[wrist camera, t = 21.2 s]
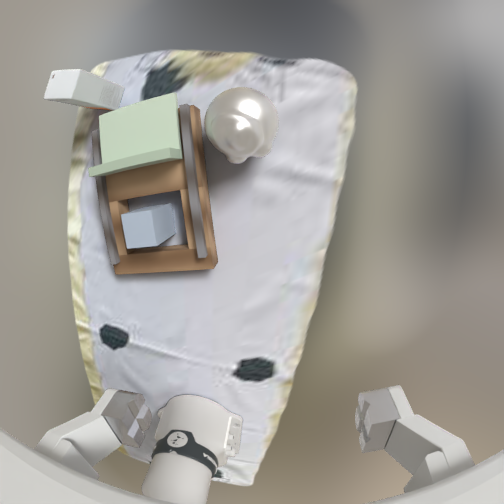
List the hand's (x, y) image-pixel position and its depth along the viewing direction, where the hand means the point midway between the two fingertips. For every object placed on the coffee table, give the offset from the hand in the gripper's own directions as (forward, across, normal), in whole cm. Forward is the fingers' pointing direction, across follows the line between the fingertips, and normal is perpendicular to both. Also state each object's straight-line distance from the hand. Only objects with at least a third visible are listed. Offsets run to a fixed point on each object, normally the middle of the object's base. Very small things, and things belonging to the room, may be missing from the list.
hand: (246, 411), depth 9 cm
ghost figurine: (+31, +2, -14) cm, 34 cm away
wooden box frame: (+31, +16, -7) cm, 36 cm away
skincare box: (+31, +23, -24) cm, 46 cm away
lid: (+28, +16, -15) cm, 36 cm away
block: (+31, +16, -3) cm, 35 cm away
